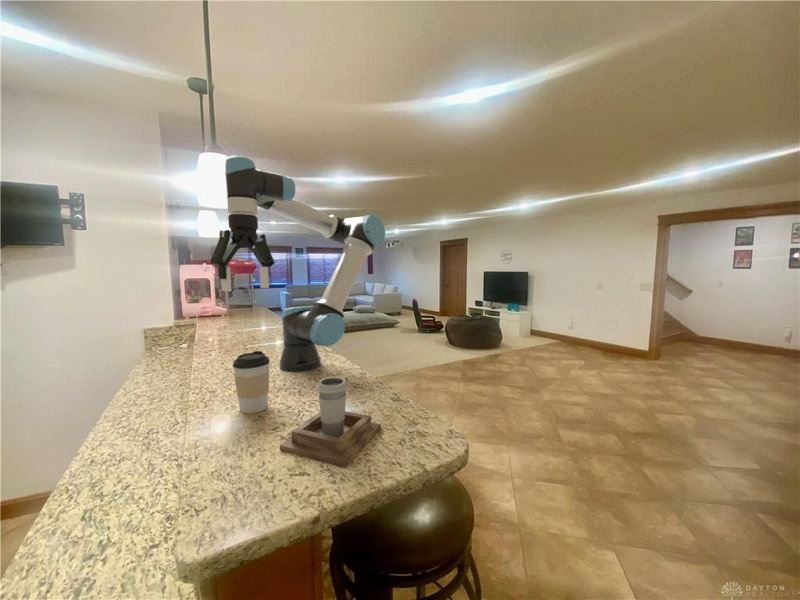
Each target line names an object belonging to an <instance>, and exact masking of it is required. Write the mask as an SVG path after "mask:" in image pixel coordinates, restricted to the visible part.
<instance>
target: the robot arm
mask: <svg viewBox="0 0 800 600" xmlns="http://www.w3.org/2000/svg"><path fill="white" fill-rule="evenodd" d="M224 175H225V181H226V182H225V183H226V195H227V196H226V197H227V198H226V199H227V213H229V215H228V217H227V218H228V219H227V220H228V227H229V229H230V230H229V229H222V230H221V229H220V230H219V239H218V242H217V244H216V246H215V248H214V251H213V254H212V257H211V260H210V265H214V266H215V267H216V268H217V269H218V278H219V280H220V281H221V283H220V284H221V292H232V281H231V280H232V279H231V267H230V266H228V265H229V263H230V262H232V261H231V260H232V259H233V258H234V256H235V254H236V253H237V252H238V250H239V249H248V250H250V251H251V253H252V254H253V255H254V257H255V258H256V260H257V261H258V262H259V264H260V266H259V282H260V286H259V287H260V289H261V288H262V289H270V282H269V281H270V280H269V278H270V275H271V274H270V273H271V272H270V267H272V266H274V265H275V260H274V258H273V255H272V252H271V250H270V248H269V246H268V245H269V244H268V243H267V239H266V235H265V234H264V233H257V230H258V228H259V225H258V224H259V223H258V221H259V220H258V217H257V215H258V208H261V209H263V210H266V211H268V212H271V213H273V214H275V215H278V216H280V217H282V218H285V219H287V220H290V221H292V222H294V223H296V224H299V225H301V226H304V227H306V228H308V229H311V230H313V231H316V232H318V233H321V234H322V236H323V237H324V238H325V239H328V240H331V241H332V242H335V243H338V244H339V245H344V246H345V247H344V250H343V252H342V254H341V256H340V259H339V260H338V263H337V264H336V267H335V269H334V272H333V273H332V275H331V278H330V279H329V282H328V284H327V286H326V288H325V290H324V292H323V295H322V296H321V298H320V300H317V301H315V302H314V303H313V305H304V306H303V305H302V306H294V307H288V308H287V307H286V308H284V309H283V310H282V317H281V319H282V320H281V321H282V333H283V334H282V335H283V350H282V353H281V356H280V359H279V368H280V370H282V371H284V372H285V371H287V372H304V371H309V370H313V369H316V368H317V367H319V366H321V356H320V355H319V351H318V348H317V346H321V347H330V346H333V345H336V344H337V343H338V342H339V341H340V340H341V339H342V337H343V335H344V333H345V330H346V326H345V320H344V318H345V312H344V311H343V309H344V307H345V304H346V302H347V300H348V297H349V296H350V293H351V291H352V289H353V287H354V284H355V282H356V280H357V279H358V278H357V277H358V276H359V273H360V271H361V269H362V267H363V265H364V261H365V259H366V258H367V257H368V256H371V255H372V254H373V252H374V249H375V247H376V246H380V245H382V244H383V243H384V240H385V238H386V229H385V226H384V223H383V221H382V220H381V218H379V217H378V216H377V215H375V214H373V215H372V214H371V215H370V214H365V215H362V216H355V217H346V218H345V217H344V218H343V217H338V216H336V215H334V214H331V215H329V214H326V213H325V212H322V211H320V210H317V209H316V208H313V207H311V206H309V205H308V204H305V203H303V202H301V201H299V200H297V199H295V195H296V183H295V181H294V180H293V178H291V177H289V176H287V175H284V174H278V173H273V172H269V171H264V170H261V169H258V168H257V167H256V163H255V161H254V160H253V159H252V158H251V159H250V158H249V157H246V156H240V155H231V156H229V157H227V158H226V159H225V173H224ZM230 239H231V241H230Z"/></svg>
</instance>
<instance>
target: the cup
mask: <svg viewBox="0 0 800 600" xmlns="http://www.w3.org/2000/svg"><path fill="white" fill-rule="evenodd" d="M347 389H348V383H347V382H346V379H345V378H343V377H341V376H328V377H323V378H322V379H320V380H319V381H318V384H317V385H316V390H317V392H318V394H319V395H318V399H319V403H318V404H319V412H320V415H321V421H322V432H323V434H324V435H328V436H332V437H336V438H337V437H340V436H341V435H342V434H343V433H344V419H345V411H346V398H347V393H346V390H347Z"/></svg>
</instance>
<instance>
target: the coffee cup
mask: <svg viewBox="0 0 800 600" xmlns="http://www.w3.org/2000/svg"><path fill="white" fill-rule="evenodd" d="M270 363H271V361H270V358H269V356H266V355H265V353H264V352H263V351H260V350H256V351H253V352H247V353H241V354H239V355H238V356H236V359H234V360H233V365H232V367H233V370H234V374H233V375H234V382H235V387H236V388H235V389H236V394H237V397H238V399H237V400H238V405H239V411H240V412H241V413H243V414H256V413H259V412H263V411H264V410H266V409H267V408H268V402H269V401H268V400H269V399H268V398H269V390H270V389H269V388H270V368H269V367H270Z"/></svg>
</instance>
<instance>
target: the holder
mask: <svg viewBox="0 0 800 600" xmlns="http://www.w3.org/2000/svg"><path fill="white" fill-rule="evenodd" d="M371 418H372V417H371V416H370V415H367V414H362V413H356V412H352V411H346V410H345V419H344V433H343V434H342V435H341V436H340V437H337V438H336V437H332V436H328V435H324V434H323V432H322V421H321V415H320V411H318V412H317V413H316V414H314V415H313V416H312V417H310V418H309V419H307V420H306V421H304V422H302V423H301V424H299V426H296V428H294V429H293V430H291V436H290V437H289V438H288V439H286V440H285V441H283V442H282V443H280V444H279V450H280V451H281V450H282V451H285V452H288V453H291V454H295V455H299V456H302V457H307V458H310V459H314V460H316V461H321V462H324V463H328V464H332V465H336V466H339V467H341V468H346V467H347V465H349V463H350V462H352V460H353V459H354V458H355V457H356V456H357V455H358V454H359V453H360V452H361V451H362V449H363V448H364V447H365V446H366V445H367V444H368V443H369V442H370V441H371V440H372V439H373V437H374V436H375V435H377V433H378V432H379V431H380V430H381V429H382V425H381V423H376V422H372V419H371Z"/></svg>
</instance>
